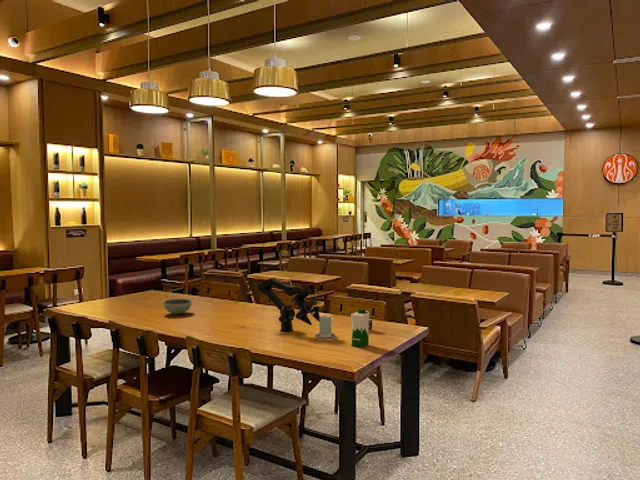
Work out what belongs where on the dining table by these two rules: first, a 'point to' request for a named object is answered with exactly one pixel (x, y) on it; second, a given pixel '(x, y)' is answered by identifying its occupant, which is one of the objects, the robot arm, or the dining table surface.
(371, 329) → the medicine bottle
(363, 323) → the milk carton
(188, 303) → the bowl
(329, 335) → the gray block
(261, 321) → the dining table surface
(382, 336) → the dining table surface
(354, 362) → the dining table surface
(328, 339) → the coaster
